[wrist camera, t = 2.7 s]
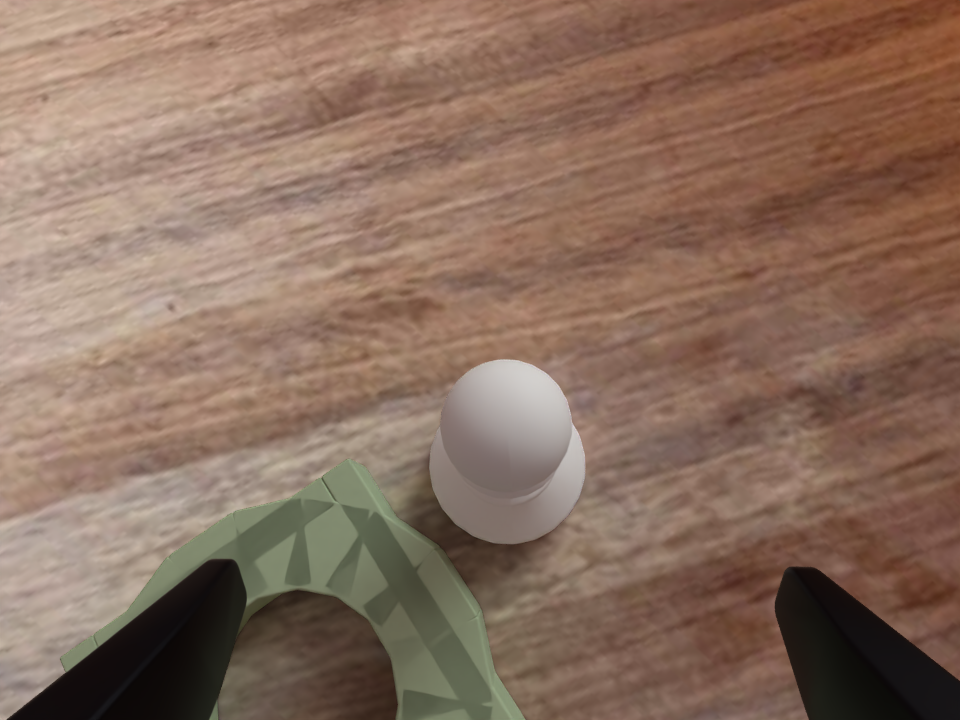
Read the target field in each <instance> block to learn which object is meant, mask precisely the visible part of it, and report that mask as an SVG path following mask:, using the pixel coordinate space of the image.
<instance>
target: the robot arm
mask: <svg viewBox="0 0 960 720" xmlns="http://www.w3.org/2000/svg"><path fill="white" fill-rule="evenodd" d="M246 603H247V592H246V588H245V585H244V582H243V579H242V576H241V572H240V569H239V566H238V564H237V562H236V561H235V560H234V559H210V560H208V561H206V562H205V563H203V564H202V565H201V566H200V567H198V568H197V569H196V570H195V571H193V572H192V573H191V574H190V575H188V576H187V577H186V578H185V579H183V580H182V581H181V582H179V583H178V584H177V585H176V586H174V587H173V588H172V589H171V590H169V591H168V592H167V593H166V594H164V595H163V596H162V597H161V598H159V599H158V600H157V601H155V602H154V603H153V604H152V605H150V606H149V607H148V608H147V609H145V610H144V611H143V612H142V613H140V614H139V615H138V616H137V617H135V618H134V619H133V620H132V621H130V622H129V623H128V624H126V625H125V626H124V627H123V628H121V629H120V630H119V631H118V632H116V633H115V634H114V635H113V636H111V637H110V638H109V639H108V640H106V641H105V642H104V643H103V644H101V645H100V646H99V647H97V648H96V649H95V650H94V651H92V652H91V653H90V654H89V655H87V656H86V657H85V658H84V659H82V660H81V661H80V662H79V663H77V664H76V665H75V666H74V667H72V668H71V669H70V670H68V671H67V672H66V673H65V674H63V675H62V676H61V677H60V678H58V679H57V680H56V681H55V682H53V683H52V684H51V685H50V686H48V687H47V688H46V689H45V690H43V691H42V692H41V693H39V694H38V695H37V696H36V697H34V698H33V699H32V700H31V701H29V702H28V703H27V704H26V705H24V706H23V707H22V708H21V709H19V710H18V711H17V712H16V713H14V714H13V715H12V716H10V717H9V718H8V719H7V720H209V719H210V717H211V714H212V712H213V709H214V707H215V704H216V702H217V699H218V696H219V693H220V690H221V687H222V684H223V680H224V677H225V674H226V670H227V667H228V664H229V661H230V657H231V654H232V651H233V647H234V644H235V641H236V638H237V634H238V631H239V628H240V624H241V621H242V618H243V614H244V611H245V608H246ZM775 613H776V618H777V621H778V624H779V627H780V631H781V634H782V637H783V640H784V643H785V647H786V650H787V653H788V656H789V659H790V663H791V666H792V669H793V672H794V675H795V679H796V682H797V685H798V688H799V691H800V694H801V698H802V701H803V704H804V707H805V710H806V713H807V715H808V718H809V720H960V681H959V680H958V679H957V678H955V677H954V676H953V675H952V674H950V673H949V672H948V671H946V670H945V669H944V668H943V667H941V666H940V665H939V664H938V663H936V662H935V661H934V660H933V659H931V658H930V657H929V656H927V655H926V654H925V653H924V652H922V651H921V650H920V649H919V648H917V647H916V646H915V645H913V644H912V643H911V642H910V641H908V640H907V639H906V638H905V637H903V636H902V635H901V634H900V633H898V632H897V631H896V630H894V629H893V628H892V627H891V626H889V625H888V624H887V623H886V622H884V621H883V620H882V619H881V618H879V617H878V616H877V615H875V614H874V613H873V612H872V611H870V610H869V609H868V608H867V607H865V606H864V605H863V604H861V603H860V602H859V601H858V600H856V599H855V598H854V597H853V596H851V595H850V594H849V593H848V592H846V591H845V590H844V589H842V588H841V587H840V586H839V585H837V584H836V583H835V582H834V581H832V580H831V579H830V578H829V577H827V576H826V575H825V574H823V573H822V572H821V571H819V570H818V569H816V568H813V567H788V568H787V569H786V570H785V572H784V574H783V577H782V581H781V584H780V587H779V590H778V593H777V596H776V600H775Z"/></svg>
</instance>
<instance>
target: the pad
mask: <svg viewBox="0 0 960 720" xmlns="http://www.w3.org/2000/svg"><path fill="white" fill-rule="evenodd" d="M210 559H234V560H235V561H236V562H237V564H238V566H239V569H240V572H241V576H242V579H243V582H244V585H245V588H246V592H247V603H246V608H245V611H244V614H243V618H242V621H241V624H240V628H239V631H238V634H239V633H240V631H241V630H242V629H243V627H244V626H245V624H246V623H247V621H248V620H249V618H250V617H251V615H253V614H254V613H256V612H257V611H258V610H260V609H261V608H263V607H264V606H265V605H267V604H268V603H269V602H271V601H272V600H274V599H275V598H276V597H278V596H279V595H281V594H282V593H286V592H290V591H294V590H303V591H308V592H313V593H318V594H323V595H328V596H334V597H337V598H338V599H340V600H341V601H342V602H344V603H345V604H346V605H348V606H349V607H350V608H352V609H353V610H355V611H356V612H357V613H359V614H360V615H361V616H363V617H364V618H366V619H367V620H368V621H369V622H370V624H371V626H372V627H373V629H374V631H375V632H376V634H377V636H378V638H379V639H380V641H381V643H382V644H383V646H384V648H385V650H386V651H387V653H388V655H389V656H390V658H391V663H392V670H393V676H394V682H395V689H396V695H397V701H398V708H397V714H396V719H395V720H525V718H524V716H523V715H522V713H521V712H520V710H519V709H518V707H517V705H516V704H515V702H514V701H513V699H512V698H511V696H510V694H509V693H508V691H507V690H506V688H505V687H504V685H503V683H502V682H501V680H500V679H499V677H498V675H497V674H496V672H495V670H494V665H493V661H492V656H491V651H490V646H489V641H488V637H487V632H486V627H485V622H484V618H483V613H482V610H481V609H480V605H479V604H478V602H477V601H476V599H475V598H474V596H473V594H472V593H471V591H470V590H469V588H468V587H467V585H466V584H465V582H464V581H463V579H462V577H461V576H460V574H459V573H458V571H457V570H456V568H455V567H454V565H453V564H452V562H451V561H450V559H449V557H448V556H447V554H446V553H445V551H444V550H443V549H441V547H440V546H439V545H438V544H436V543H435V542H433V541H432V540H430V539H429V538H427V537H426V536H424V535H423V534H421V533H420V532H418V531H417V530H415V529H414V528H412V527H411V526H409V525H408V524H407V523H405V522H404V521H402V520H401V519H399V518H398V517H397V516H396V515H395V513H394V512H393V510H392V508H391V507H390V505H389V504H388V502H387V501H386V499H385V497H384V496H383V494H382V493H381V491H380V489H379V488H378V486H377V485H376V483H375V482H374V480H373V478H372V477H371V475H370V474H369V472H368V471H367V469H366V467H365V466H363V465H361V464H359V463H357V462H355V461H353V460H351V459H346V460H345V461H343V462H342V463H340V464H339V465H338V466H336V467H335V468H333V469H332V470H330V471H329V472H327V473H326V474H325V475H323V477H322V478H318V479H317V480H315V481H314V482H312V483H311V484H310V485H308V486H307V487H305V488H304V489H302V490H301V491H300V492H298V493H297V494H295V495H294V496H292V497H291V498H289V499H284V500H280V501H276V502H272V503H267V504H263V505H259V506H255V507H250V508H246V509H242V510H238V511H235V512H233V513H230V514H229V515H227V516H226V517H225V518H223V519H222V520H220V521H219V522H217V523H216V524H214V525H213V526H211V527H210V528H209V529H207V530H206V531H204V532H203V533H201V534H200V535H198V536H197V537H195V538H194V539H192V540H191V541H190V542H188V543H187V544H185V545H184V546H182V547H181V548H179V549H178V550H176V551H175V552H174V553H172V554H171V555H170V556H169V557H167V558H166V559H165V560H164V561H163V563H162V564H161V565H160V567H159V568H158V570H157V571H156V572H155V574H154V575H153V576H152V578H151V579H150V580H149V582H148V583H147V584H146V586H145V587H144V588H143V590H142V591H141V593H140V594H139V595H138V597H137V598H136V599H135V601H134V602H133V603H132V605H131V606H130V607H129V609H128V610H127V611H126V612H125V613H124V614H122V615H121V616H119V617H118V618H116V619H115V620H113V621H112V622H111V623H109V624H108V625H106V626H105V627H103V628H102V629H100V630H99V631H98V632H96V633H95V634H94V635H93V636H90V637H89V638H88V639H86V640H85V641H83V642H82V643H80V644H79V645H77V646H76V647H75V648H73V649H72V650H70V651H69V652H67V653H66V654H64V655H63V656H62V657H61V658H60V660H61V663H62V665H63V668H64V670H65V672H67V671H68V670H70V669H71V668H72V667H74V666H75V665H76V664H77V663H79V662H80V661H81V660H82V659H84V658H85V657H86V656H87V655H89V654H90V653H91V652H92V651H94V650H95V649H96V648H97V647H99V646H100V645H101V644H103V643H104V642H105V641H106V640H108V639H109V638H110V637H111V636H113V635H114V634H115V633H116V632H118V631H119V630H120V629H121V628H123V627H124V626H125V625H126V624H128V623H129V622H130V621H132V620H133V619H134V618H135V617H137V616H138V615H139V614H140V613H142V612H143V611H144V610H145V609H147V608H148V607H149V606H150V605H152V604H153V603H154V602H155V601H157V600H158V599H159V598H161V597H162V596H163V595H164V594H166V593H167V592H168V591H169V590H171V589H172V588H173V587H174V586H176V585H177V584H178V583H179V582H181V581H182V580H183V579H185V578H186V577H187V576H188V575H190V574H191V573H192V572H193V571H195V570H196V569H197V568H198V567H200V566H201V565H202V564H203V563H205V562H206V561H208V560H210ZM238 634H237V636H238ZM209 720H218V706H217V702H216V704H215V707H214V709H213V712H212V714H211V717H210V719H209Z"/></svg>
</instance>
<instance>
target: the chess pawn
mask: <svg viewBox="0 0 960 720" xmlns="http://www.w3.org/2000/svg"><path fill="white" fill-rule="evenodd" d="M429 471H430V477H431V482H432V488H433V491H434V493H435V495H436V497H437V499H438V501H439V503H440V506H441V508H442V509H443V510H444V511H445V513H446V514H447V515H448V516H449V517H450V519H451V520H452V521H453V522H454V523H455V524H456V525H457V526H459V527H460V528H462V529H463V530H464V531H466V532H467V533H469V534H470V535H472V536H474V537H476V538H479V539H482V540H485V541H488V542H491V543H499V544H518V543H523V542H527V541H532V540H536V539H537V538H539V537H541V536H543V535H545V534H547V533H548V532H550V531H552V530H554V529H555V528H556V527H557V526H558V525H559V524H560V523H561V522H562V521H563V520H564V519H565V518H566V517H567V516H568V515H569V514H570V512H571V511H572V509H573V507H574V506H575V504H576V502H577V500H578V499H579V497H580V494H581V490H582V486H583V482H584V479H585V454H584V450H583V446H582V443H581V439H580V435H579V434H578V432H577V430H576V428H575V427H574V425H573V423H572V417H571V413H570V409H569V406H568V402H567V399H566V398H565V396H564V394H563V392H562V391H561V389H560V387H559V385H558V384H557V383H556V382H555V381H554V380H553V379H552V378H551V377H550V376H549V375H548V374H547V373H545V372H543V371H542V370H540V369H538V368H537V367H535V366H533V365H531V364H528V363H525V362H521V361H518V360H495V361H491V362H486V363H483V364H481V365H479V366H477V367H475V368H473V369H471V370H469V371H468V372H467V373H466V374H464V375H463V376H462V377H461V378H460V379H459V380H458V381H457V382H456V383H455V384H454V386H453V387H452V389H451V390H450V392H449V393H448V395H447V397H446V400H445V403H444V406H443V409H442V412H441V423H440V426H439V428H438V429H437V432H436V435H435V438H434V440H433V443H432V446H431V451H430V464H429Z"/></svg>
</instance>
